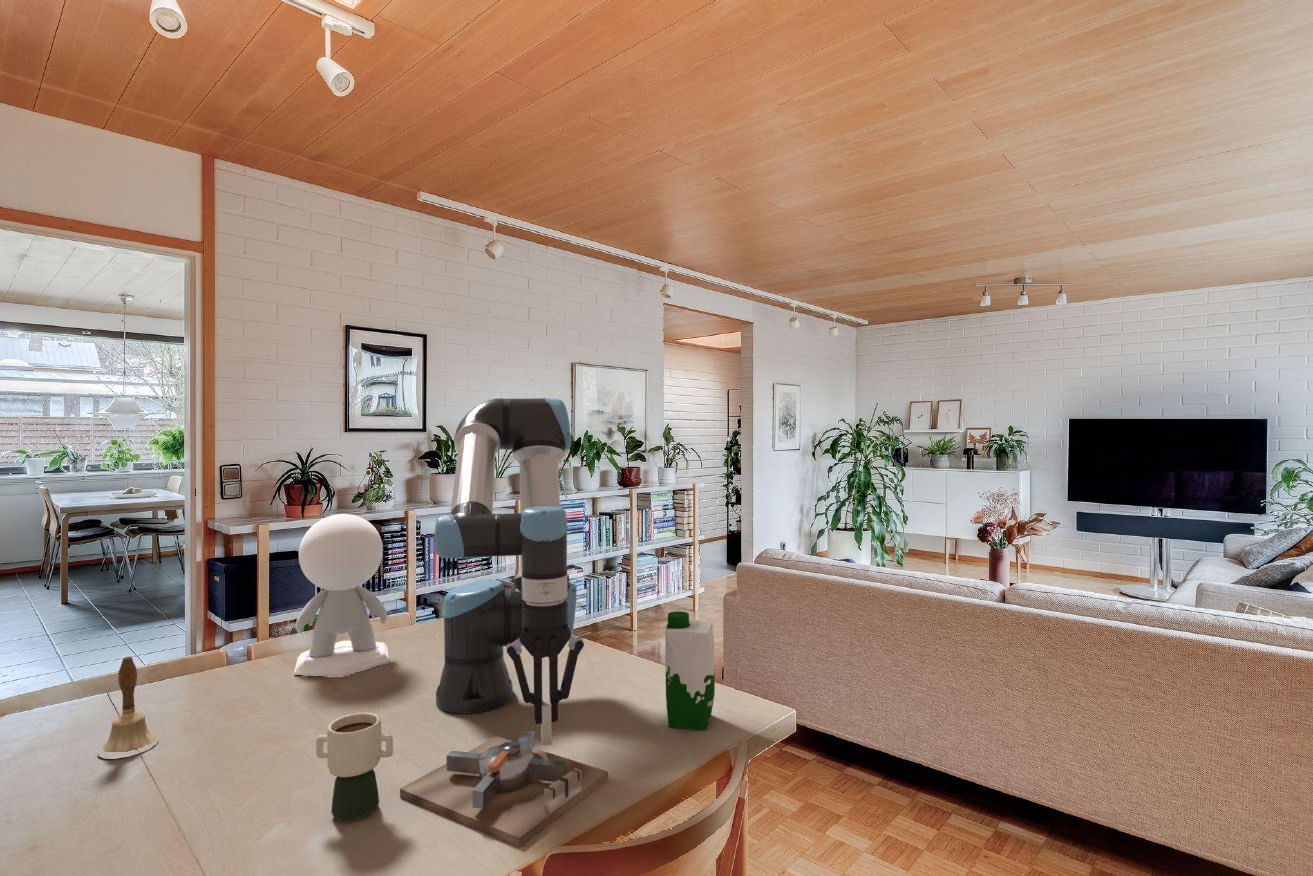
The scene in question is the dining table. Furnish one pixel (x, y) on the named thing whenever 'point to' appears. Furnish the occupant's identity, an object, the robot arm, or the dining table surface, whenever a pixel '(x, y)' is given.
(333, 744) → the character mug
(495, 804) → the wooden mounting board
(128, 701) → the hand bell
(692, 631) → the milk carton
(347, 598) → the big headed doll
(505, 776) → the four-spoke handwheel
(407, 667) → the dining table surface
